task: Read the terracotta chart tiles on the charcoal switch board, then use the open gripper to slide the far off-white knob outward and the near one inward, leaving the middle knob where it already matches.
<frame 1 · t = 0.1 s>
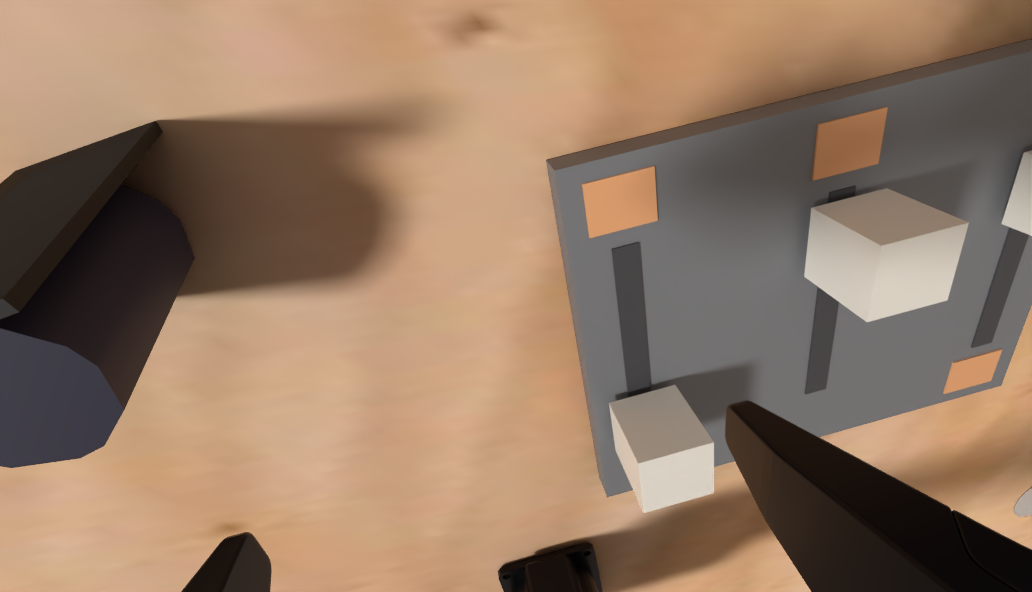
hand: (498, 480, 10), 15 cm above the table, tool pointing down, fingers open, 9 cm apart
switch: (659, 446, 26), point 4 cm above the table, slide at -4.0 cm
switch mid: (877, 252, 22), point 4 cm above the table, slide at 4.0 cm
speaker: (135, 234, 21), on the table
switch board: (807, 287, 28), on the table
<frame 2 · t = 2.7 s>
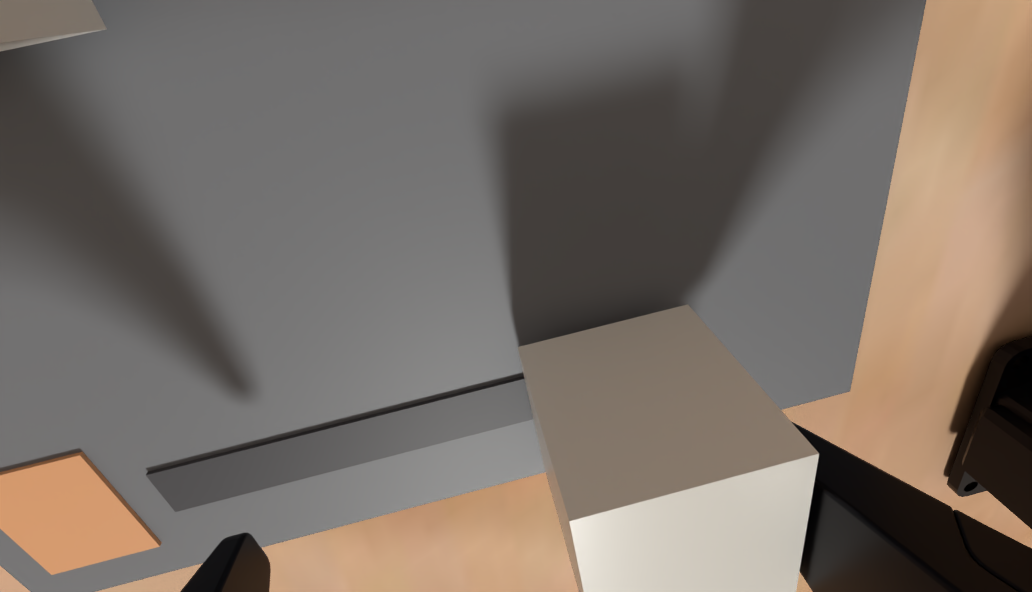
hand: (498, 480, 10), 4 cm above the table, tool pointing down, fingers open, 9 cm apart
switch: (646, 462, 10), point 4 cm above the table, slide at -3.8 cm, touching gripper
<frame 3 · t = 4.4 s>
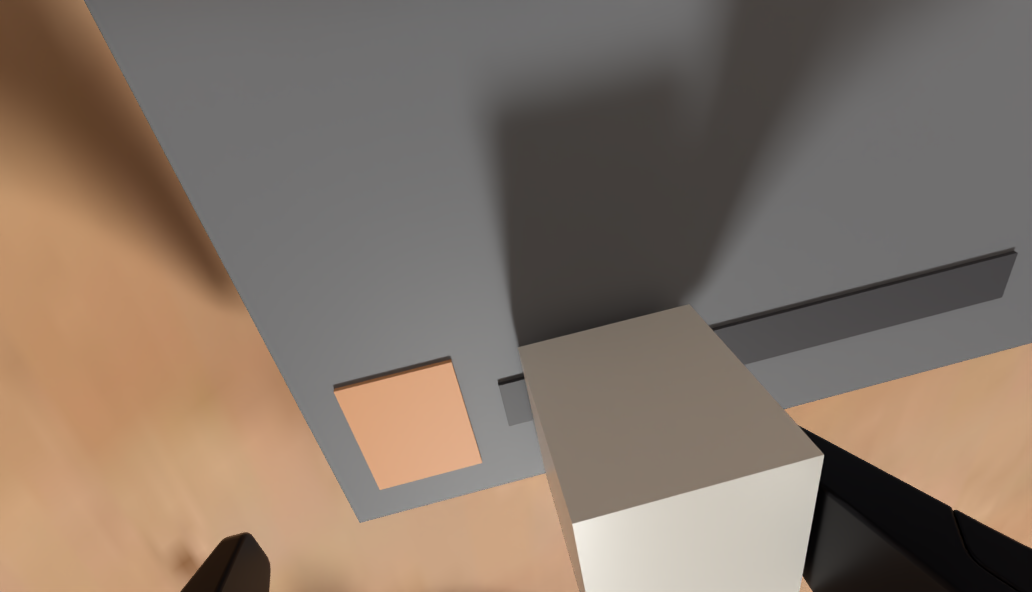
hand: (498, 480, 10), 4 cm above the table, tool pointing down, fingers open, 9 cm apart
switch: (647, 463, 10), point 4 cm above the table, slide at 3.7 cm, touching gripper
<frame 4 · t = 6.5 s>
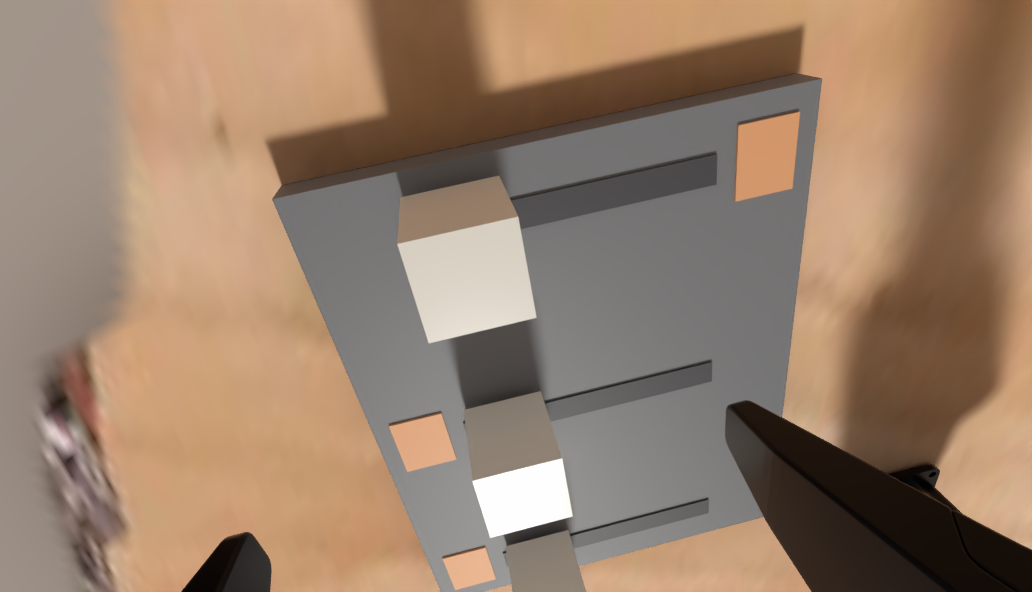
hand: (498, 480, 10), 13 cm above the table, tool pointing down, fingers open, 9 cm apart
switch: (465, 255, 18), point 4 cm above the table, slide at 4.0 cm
switch mid: (516, 461, 23), point 4 cm above the table, slide at 4.0 cm
switch board: (581, 380, 26), on the table
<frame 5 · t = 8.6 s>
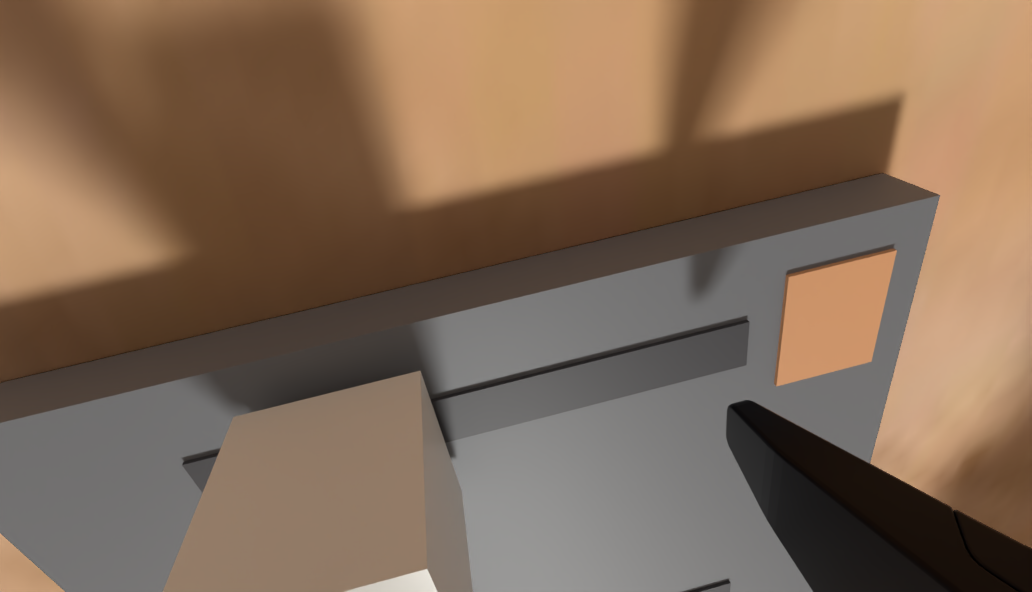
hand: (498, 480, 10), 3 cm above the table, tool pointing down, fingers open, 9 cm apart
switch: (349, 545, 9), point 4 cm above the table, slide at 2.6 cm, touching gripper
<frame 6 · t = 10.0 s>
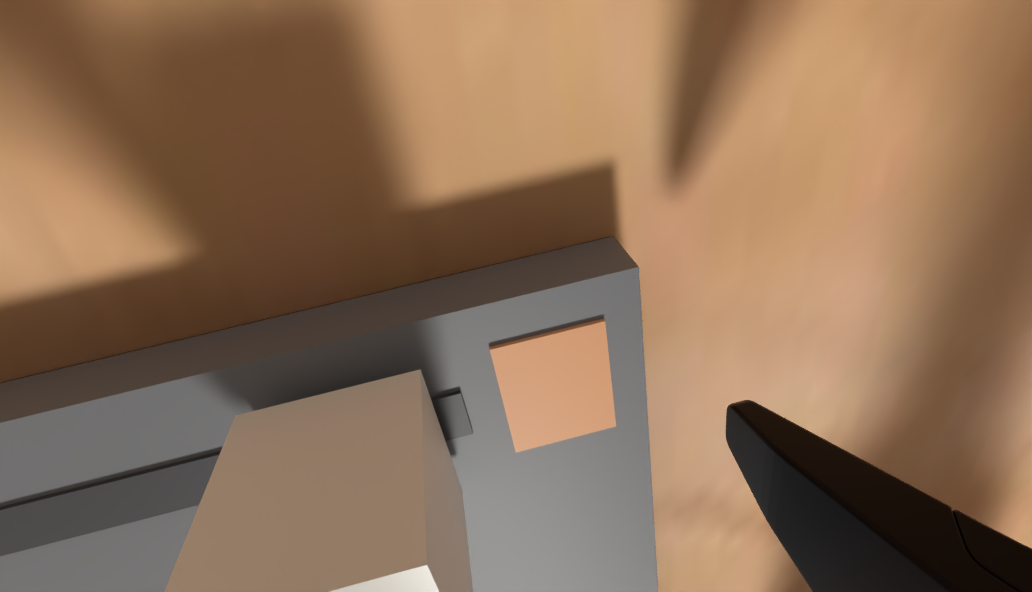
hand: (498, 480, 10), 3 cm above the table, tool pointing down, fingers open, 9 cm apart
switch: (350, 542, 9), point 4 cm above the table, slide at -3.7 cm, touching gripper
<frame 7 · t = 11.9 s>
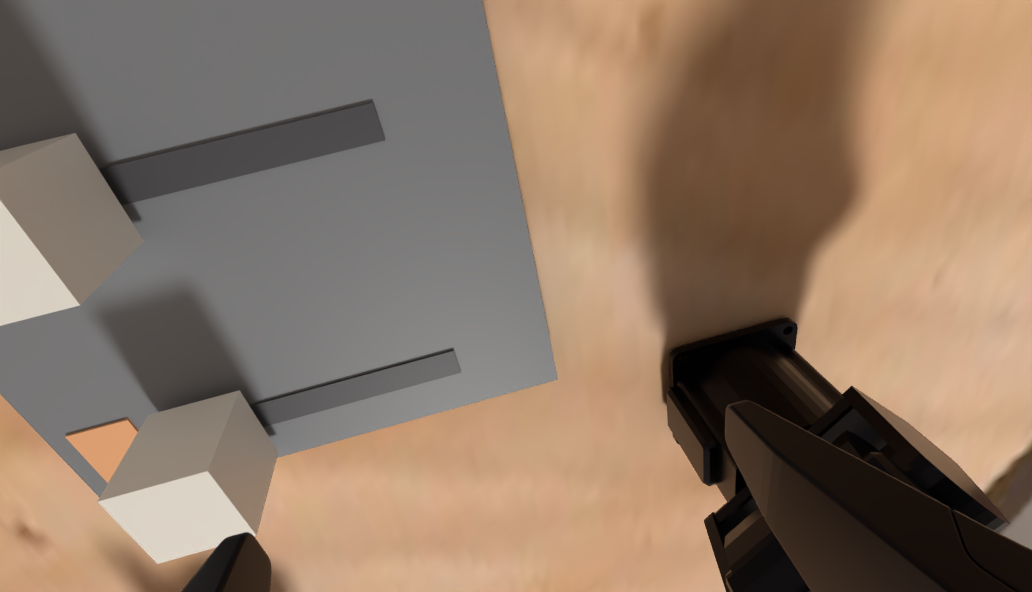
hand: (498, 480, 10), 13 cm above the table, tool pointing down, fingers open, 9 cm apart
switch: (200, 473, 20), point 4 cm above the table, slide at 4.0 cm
switch mid: (11, 230, 14), point 4 cm above the table, slide at 4.0 cm
switch board: (206, 154, 18), on the table
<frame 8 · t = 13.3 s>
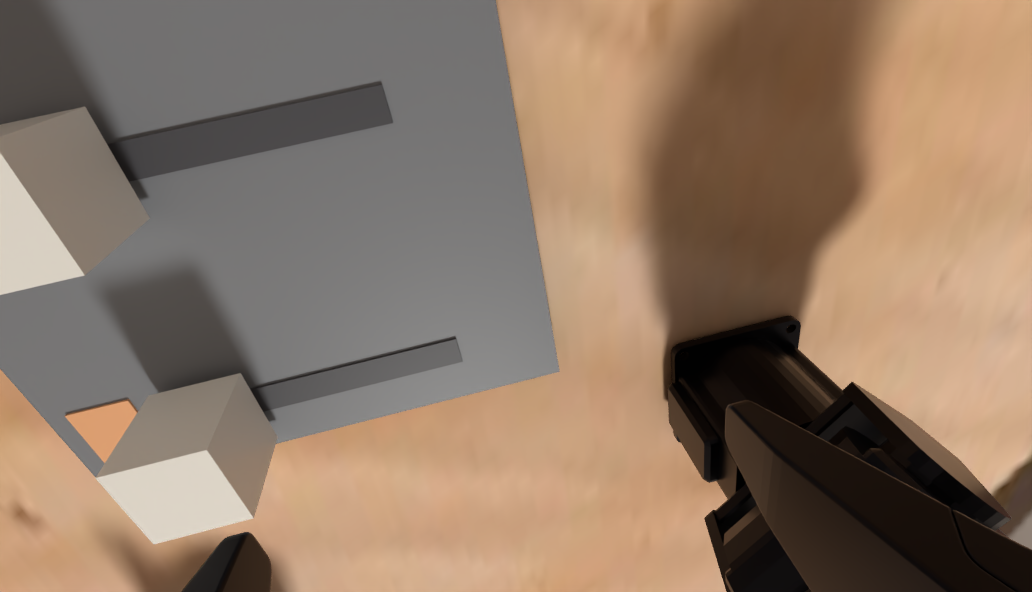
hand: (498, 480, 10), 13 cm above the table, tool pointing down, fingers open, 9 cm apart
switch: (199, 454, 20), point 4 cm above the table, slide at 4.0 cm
switch mid: (18, 200, 14), point 4 cm above the table, slide at 4.0 cm
switch board: (214, 133, 18), on the table
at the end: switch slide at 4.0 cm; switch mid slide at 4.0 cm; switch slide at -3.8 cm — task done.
